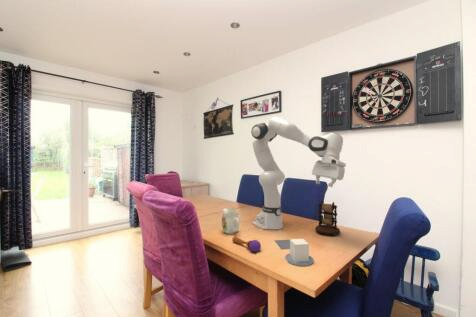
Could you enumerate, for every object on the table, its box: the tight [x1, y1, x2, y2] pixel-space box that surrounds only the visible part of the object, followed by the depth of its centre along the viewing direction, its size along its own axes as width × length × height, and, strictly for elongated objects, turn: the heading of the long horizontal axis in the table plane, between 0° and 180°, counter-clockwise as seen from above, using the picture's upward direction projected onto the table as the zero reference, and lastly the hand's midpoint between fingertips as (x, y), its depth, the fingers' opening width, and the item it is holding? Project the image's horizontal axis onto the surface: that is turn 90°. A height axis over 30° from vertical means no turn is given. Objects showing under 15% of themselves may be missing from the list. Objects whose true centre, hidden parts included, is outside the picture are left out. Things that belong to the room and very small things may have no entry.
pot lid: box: [284, 253, 315, 267], centre depth 110 cm, size 13×13×3 cm
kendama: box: [231, 236, 262, 253], centre depth 125 cm, size 6×6×20 cm
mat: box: [274, 239, 290, 250], centre depth 128 cm, size 13×13×1 cm
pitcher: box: [221, 208, 240, 235], centre depth 148 cm, size 11×18×14 cm, turn 33°
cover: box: [289, 238, 310, 262], centre depth 110 cm, size 7×7×8 cm
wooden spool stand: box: [314, 200, 341, 237], centre depth 147 cm, size 15×15×20 cm
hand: (323, 185), depth 130 cm, fingers open, 8 cm apart
